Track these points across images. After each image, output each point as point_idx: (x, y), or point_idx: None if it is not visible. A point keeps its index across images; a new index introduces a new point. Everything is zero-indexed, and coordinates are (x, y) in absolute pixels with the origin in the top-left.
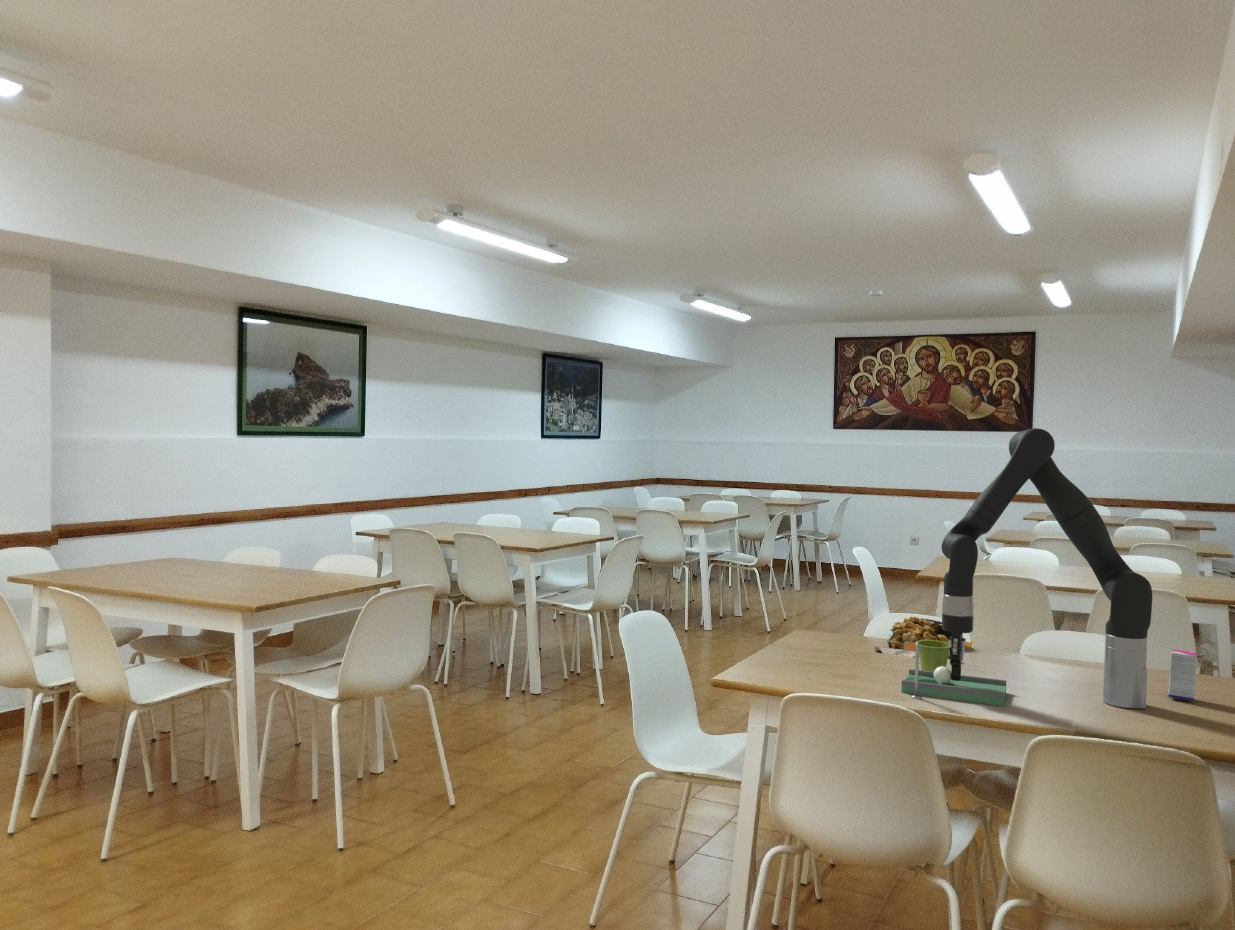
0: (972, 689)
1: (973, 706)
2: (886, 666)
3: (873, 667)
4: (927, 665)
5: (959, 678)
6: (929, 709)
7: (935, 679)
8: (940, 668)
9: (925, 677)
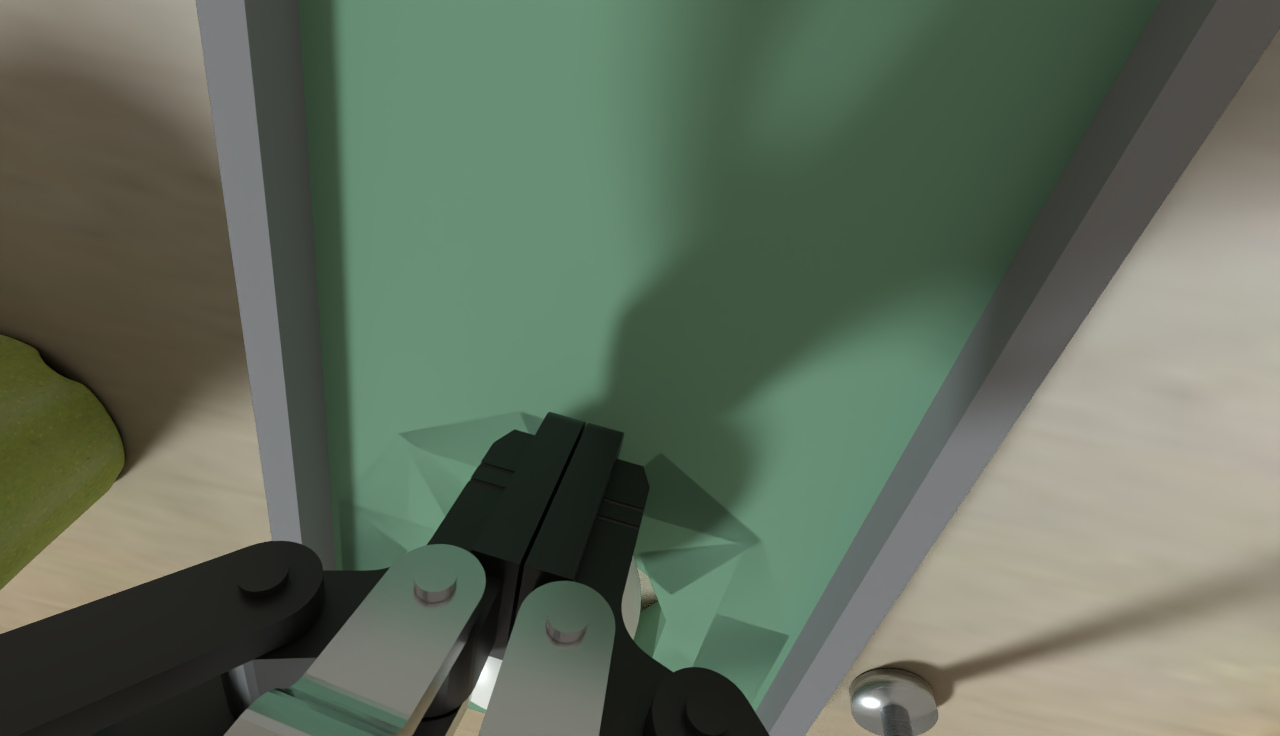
0: (1057, 354)
1: (1206, 306)
2: None
3: None
4: (43, 540)
5: (616, 453)
6: (1274, 699)
7: None
8: None
9: None
